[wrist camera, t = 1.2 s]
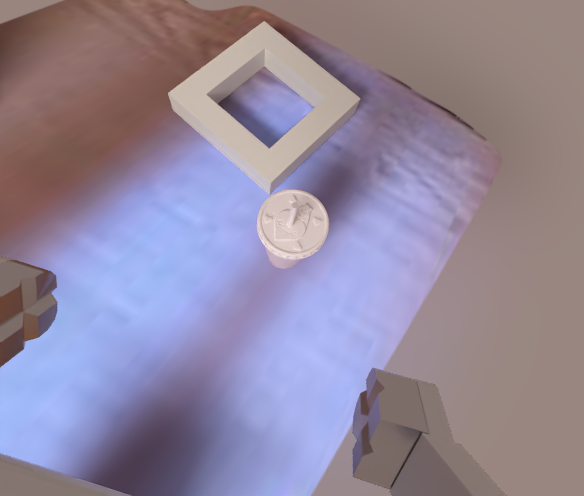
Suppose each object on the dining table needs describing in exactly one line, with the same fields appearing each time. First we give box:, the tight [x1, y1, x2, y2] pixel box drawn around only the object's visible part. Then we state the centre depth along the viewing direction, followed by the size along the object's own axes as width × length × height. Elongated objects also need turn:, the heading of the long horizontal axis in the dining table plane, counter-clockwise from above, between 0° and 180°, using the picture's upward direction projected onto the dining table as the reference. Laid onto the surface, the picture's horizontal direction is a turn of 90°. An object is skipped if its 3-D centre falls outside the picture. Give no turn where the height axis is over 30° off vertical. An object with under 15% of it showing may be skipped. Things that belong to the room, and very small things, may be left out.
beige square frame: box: [168, 21, 360, 195], centre depth 45 cm, size 16×16×3 cm
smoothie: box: [257, 189, 329, 269], centre depth 35 cm, size 6×6×14 cm
